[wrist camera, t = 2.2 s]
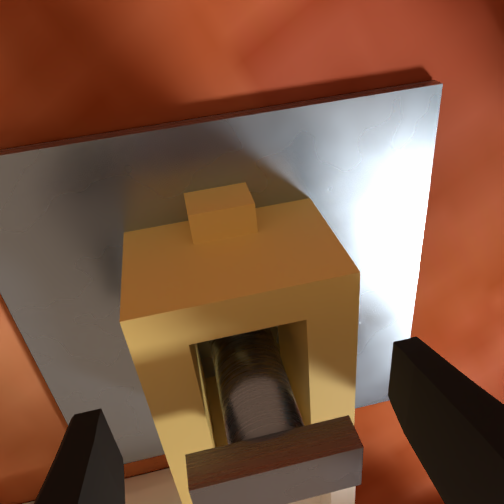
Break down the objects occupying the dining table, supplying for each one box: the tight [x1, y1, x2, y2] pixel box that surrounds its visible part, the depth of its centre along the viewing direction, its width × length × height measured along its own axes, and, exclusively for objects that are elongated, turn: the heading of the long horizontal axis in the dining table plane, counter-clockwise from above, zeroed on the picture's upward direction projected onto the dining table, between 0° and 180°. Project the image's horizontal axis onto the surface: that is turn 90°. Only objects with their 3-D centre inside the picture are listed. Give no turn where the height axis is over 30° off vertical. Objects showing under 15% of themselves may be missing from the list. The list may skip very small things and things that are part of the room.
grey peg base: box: [0, 80, 443, 504], centre depth 12 cm, size 12×12×6 cm
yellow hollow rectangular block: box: [119, 182, 360, 504], centre depth 13 cm, size 9×5×4 cm, turn 5°
